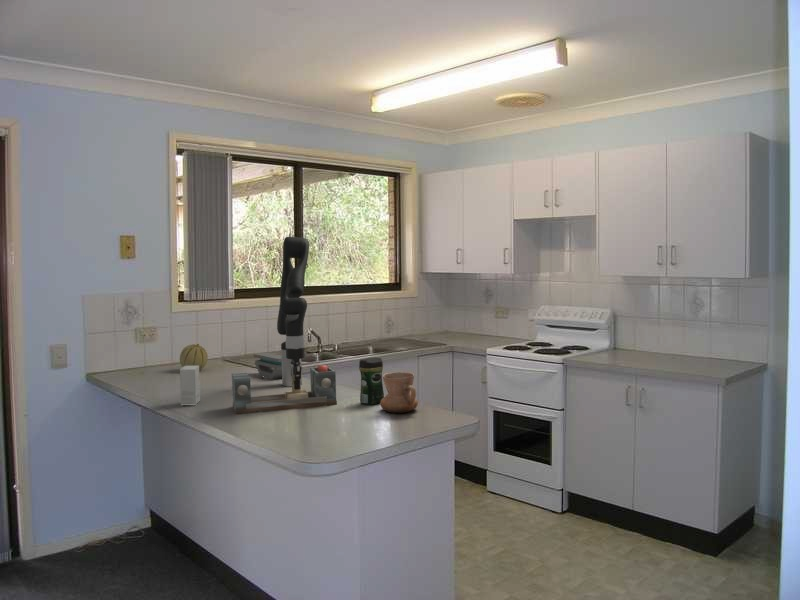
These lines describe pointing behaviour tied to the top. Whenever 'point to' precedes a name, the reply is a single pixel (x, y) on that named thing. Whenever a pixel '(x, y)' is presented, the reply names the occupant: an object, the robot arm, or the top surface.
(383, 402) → the ceramic jug
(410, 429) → the top surface
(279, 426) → the top surface
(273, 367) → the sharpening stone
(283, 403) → the rail track
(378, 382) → the coffee jar
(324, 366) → the button
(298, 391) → the carriage
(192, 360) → the cantaloupe
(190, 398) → the skincare box
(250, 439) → the top surface
